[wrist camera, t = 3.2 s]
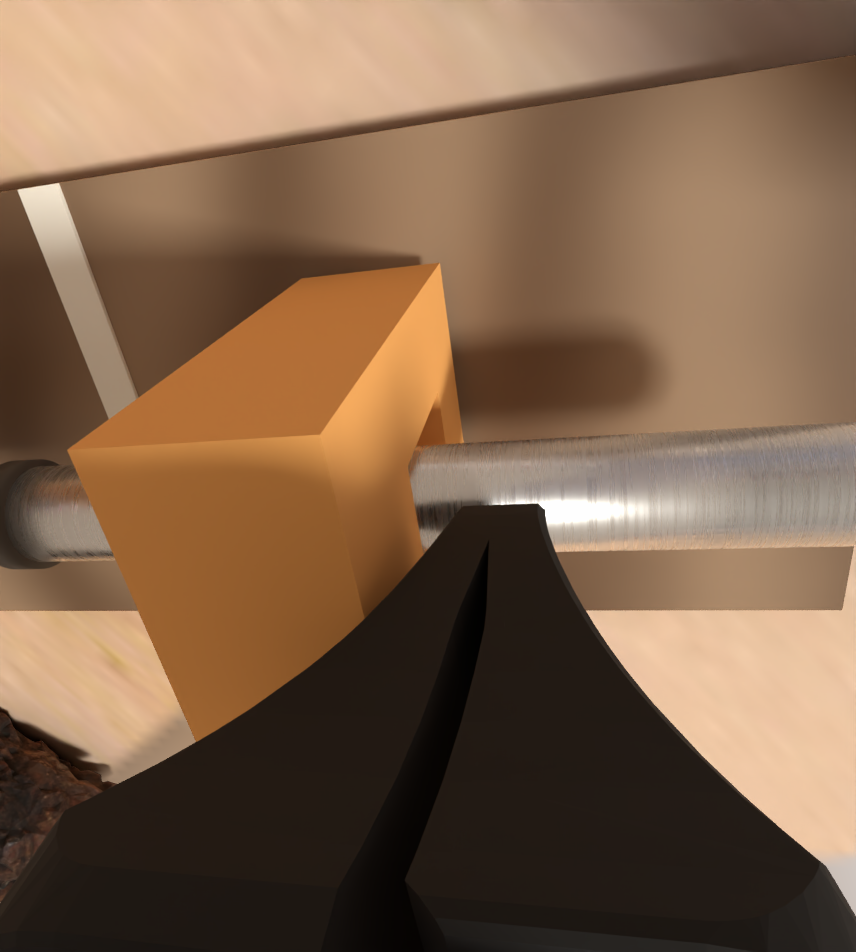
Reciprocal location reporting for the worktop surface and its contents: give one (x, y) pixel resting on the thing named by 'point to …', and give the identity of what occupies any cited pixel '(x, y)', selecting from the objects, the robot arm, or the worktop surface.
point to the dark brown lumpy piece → (34, 797)
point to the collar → (276, 482)
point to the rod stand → (497, 327)
